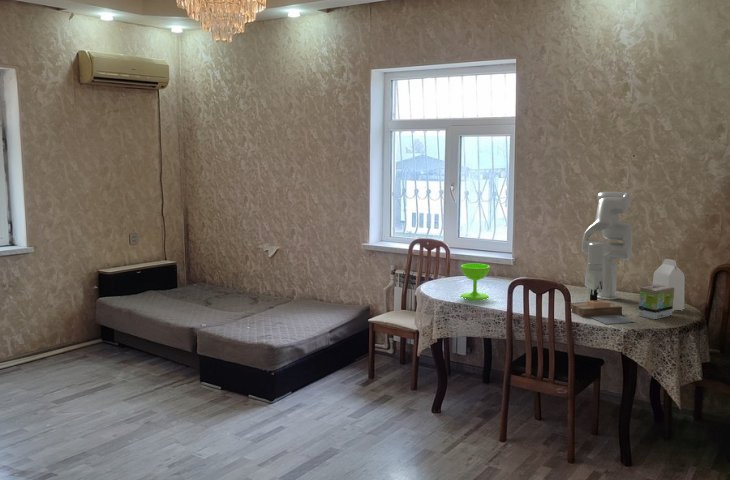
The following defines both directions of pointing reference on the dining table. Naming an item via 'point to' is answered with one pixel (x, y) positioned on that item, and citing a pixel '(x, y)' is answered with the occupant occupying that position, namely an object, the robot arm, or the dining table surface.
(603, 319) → the mat
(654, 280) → the milk
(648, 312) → the tea box
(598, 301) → the tile
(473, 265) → the wineglass
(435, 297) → the dining table surface
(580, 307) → the brown flat block
